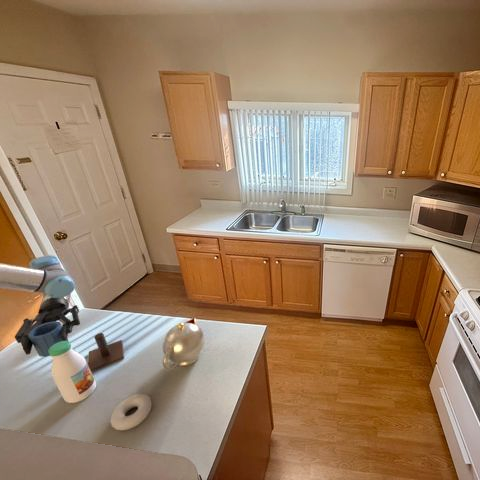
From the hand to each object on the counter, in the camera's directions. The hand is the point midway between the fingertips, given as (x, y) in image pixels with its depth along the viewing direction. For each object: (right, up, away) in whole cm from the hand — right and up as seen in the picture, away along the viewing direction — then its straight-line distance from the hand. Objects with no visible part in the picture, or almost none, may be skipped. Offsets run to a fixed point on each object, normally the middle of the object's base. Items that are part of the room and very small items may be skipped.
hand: (45, 344), depth 78 cm
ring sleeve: (-3, -3, +6) cm, 7 cm away
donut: (+29, -21, -2) cm, 35 cm away
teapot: (+34, -13, +16) cm, 40 cm away
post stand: (+5, -11, +16) cm, 20 cm away
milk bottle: (+8, -17, +4) cm, 19 cm away
